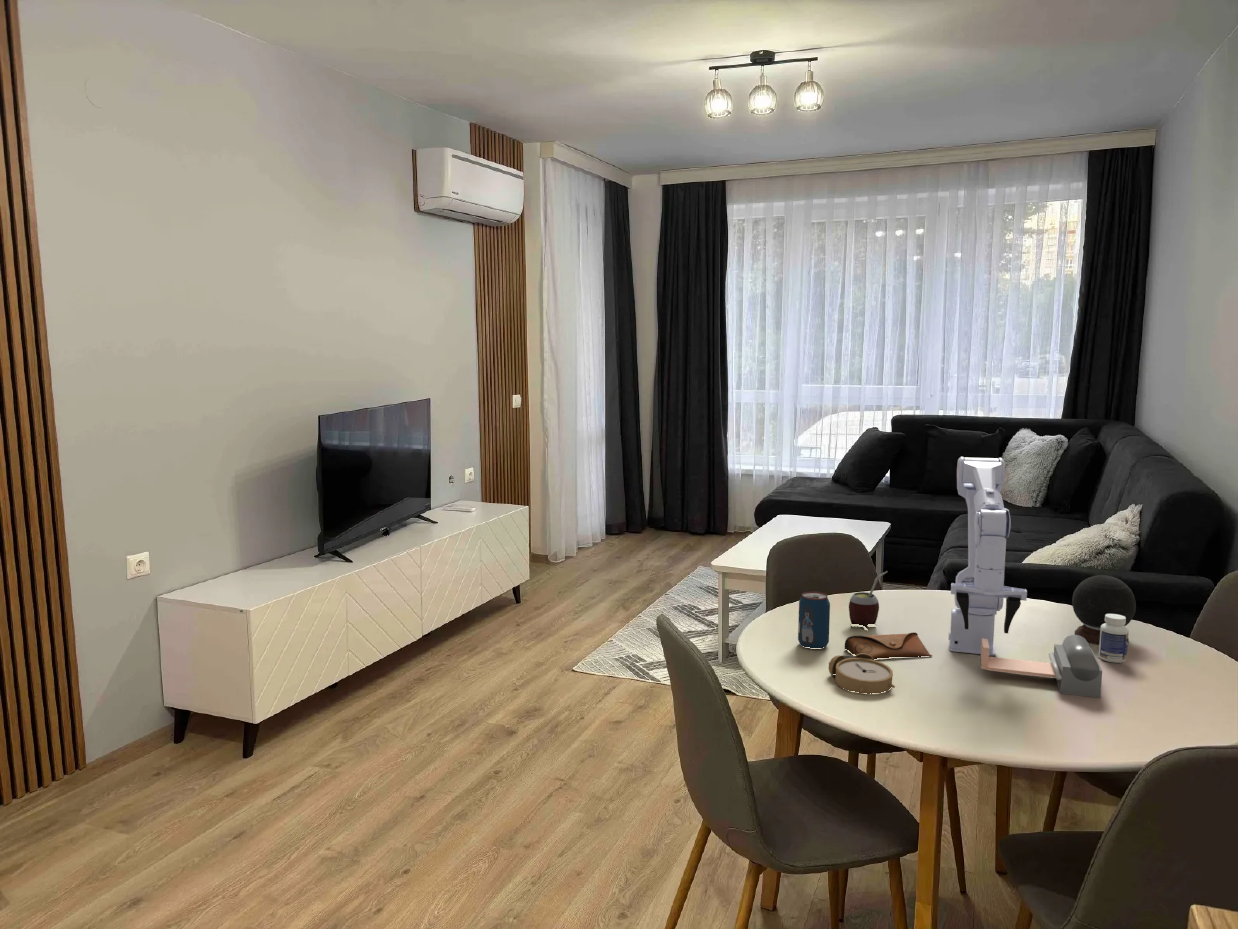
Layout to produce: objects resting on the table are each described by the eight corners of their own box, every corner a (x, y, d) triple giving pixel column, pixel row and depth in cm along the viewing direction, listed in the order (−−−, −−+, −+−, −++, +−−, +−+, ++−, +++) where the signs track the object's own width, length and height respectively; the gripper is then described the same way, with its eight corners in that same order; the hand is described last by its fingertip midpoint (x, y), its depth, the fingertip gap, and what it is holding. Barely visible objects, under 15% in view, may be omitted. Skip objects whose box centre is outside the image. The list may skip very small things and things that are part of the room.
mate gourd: (845, 622, 222) (847, 563, 220) (877, 622, 222) (879, 563, 220) (852, 632, 215) (855, 571, 213) (885, 632, 215) (888, 571, 213)
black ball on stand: (1146, 645, 206) (1152, 581, 204) (1098, 649, 202) (1103, 585, 200) (1103, 627, 218) (1107, 567, 216) (1057, 631, 215) (1061, 570, 213)
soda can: (826, 641, 208) (828, 591, 207) (830, 651, 202) (832, 599, 200) (796, 640, 209) (797, 590, 207) (799, 650, 202) (800, 598, 201)
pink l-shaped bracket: (981, 669, 185) (983, 648, 185) (980, 658, 192) (981, 637, 191) (1056, 678, 181) (1058, 656, 180) (1052, 666, 187) (1054, 645, 187)
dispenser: (1055, 692, 178) (1057, 653, 177) (1047, 668, 191) (1049, 632, 190) (1100, 697, 175) (1103, 658, 174) (1089, 673, 188) (1092, 636, 187)
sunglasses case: (861, 662, 194) (854, 632, 197) (847, 668, 201) (842, 639, 203) (936, 656, 198) (929, 627, 200) (921, 663, 204) (914, 634, 207)
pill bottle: (1130, 664, 193) (1133, 620, 192) (1102, 662, 194) (1106, 619, 193) (1121, 656, 198) (1124, 613, 197) (1095, 654, 200) (1098, 612, 198)
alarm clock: (853, 685, 175) (819, 647, 189) (850, 707, 176) (816, 667, 190) (904, 679, 177) (867, 642, 191) (901, 701, 179) (864, 663, 193)
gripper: (952, 568, 184) (949, 632, 186) (1029, 574, 179) (1025, 639, 181) (952, 560, 191) (949, 622, 193) (1026, 566, 186) (1022, 629, 188)
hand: (986, 630), depth 187 cm, fingers open, 7 cm apart
